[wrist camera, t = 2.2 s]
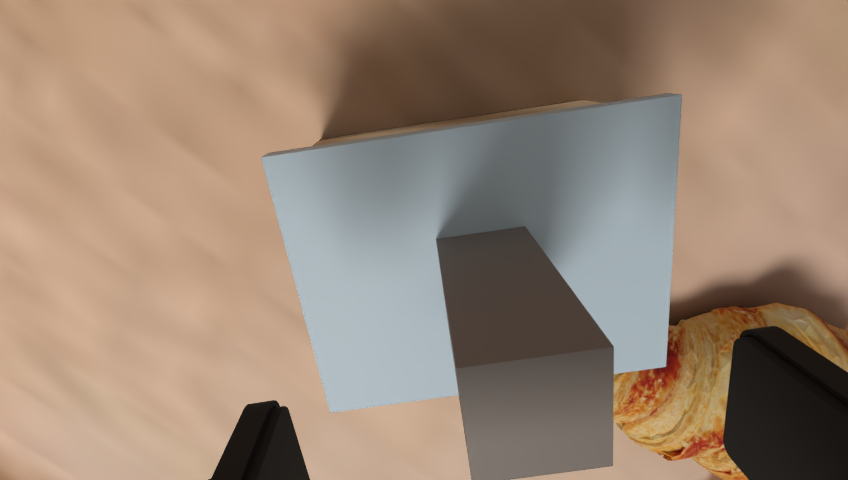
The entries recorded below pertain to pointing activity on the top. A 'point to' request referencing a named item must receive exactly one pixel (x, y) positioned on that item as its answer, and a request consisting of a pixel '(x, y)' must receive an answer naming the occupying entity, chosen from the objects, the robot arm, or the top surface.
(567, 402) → the lid
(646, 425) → the croissant
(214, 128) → the top surface
